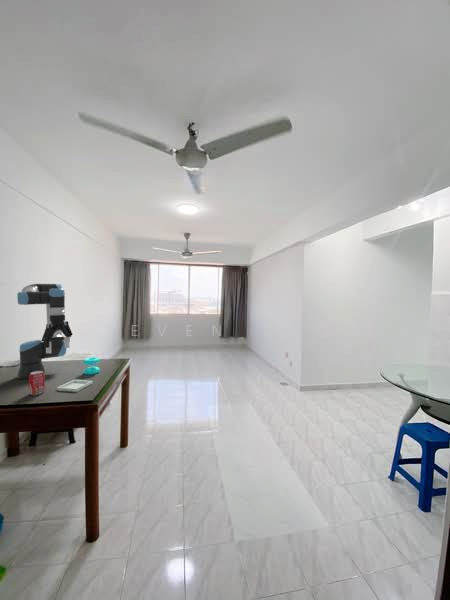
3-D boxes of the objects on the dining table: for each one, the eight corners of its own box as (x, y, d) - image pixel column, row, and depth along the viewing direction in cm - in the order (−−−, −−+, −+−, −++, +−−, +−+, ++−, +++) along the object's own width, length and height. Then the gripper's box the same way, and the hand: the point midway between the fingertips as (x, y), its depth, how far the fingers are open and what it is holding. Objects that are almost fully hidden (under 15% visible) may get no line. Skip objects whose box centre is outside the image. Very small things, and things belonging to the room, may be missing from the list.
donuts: (80, 360, 171) (89, 356, 181) (80, 374, 171) (89, 370, 181) (93, 360, 170) (102, 357, 180) (94, 375, 170) (102, 370, 180)
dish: (56, 390, 144) (56, 387, 144) (74, 382, 157) (74, 379, 157) (76, 392, 142) (76, 389, 142) (92, 383, 155) (92, 381, 155)
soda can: (34, 391, 144) (34, 370, 143) (47, 390, 144) (47, 370, 144) (26, 396, 137) (25, 374, 136) (39, 395, 137) (39, 374, 137)
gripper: (45, 316, 135) (46, 355, 136) (78, 312, 159) (79, 345, 160) (32, 316, 136) (33, 355, 137) (67, 312, 160) (68, 345, 161)
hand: (58, 350), depth 148 cm, fingers open, 13 cm apart
